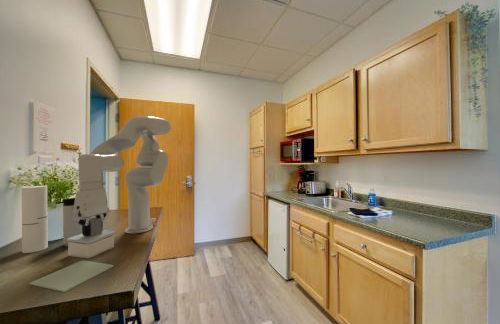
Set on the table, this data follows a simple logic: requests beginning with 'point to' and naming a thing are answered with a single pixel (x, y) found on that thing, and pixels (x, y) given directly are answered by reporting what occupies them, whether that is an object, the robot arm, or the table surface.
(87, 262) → the mat
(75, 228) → the travel mug
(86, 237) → the lid
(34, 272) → the table surface
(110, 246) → the open square tray
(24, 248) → the cylindrical container
